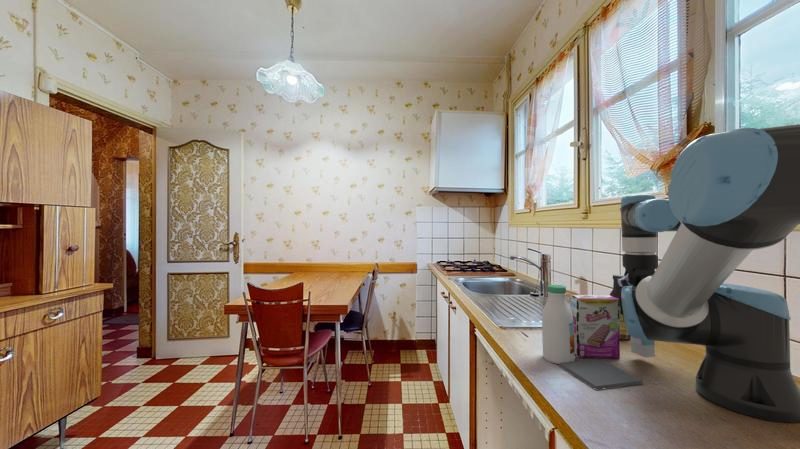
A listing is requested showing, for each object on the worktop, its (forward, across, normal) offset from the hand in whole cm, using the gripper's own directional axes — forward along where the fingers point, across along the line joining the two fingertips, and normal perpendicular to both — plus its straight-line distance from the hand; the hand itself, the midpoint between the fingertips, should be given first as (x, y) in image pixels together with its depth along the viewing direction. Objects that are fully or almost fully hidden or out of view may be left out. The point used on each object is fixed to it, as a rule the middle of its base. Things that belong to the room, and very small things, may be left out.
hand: (642, 342), depth 83 cm
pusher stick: (+3, 0, 0) cm, 3 cm away
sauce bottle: (+5, -9, -16) cm, 19 cm away
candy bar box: (+5, +9, -6) cm, 12 cm away
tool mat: (+5, +17, +4) cm, 18 cm away
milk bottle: (+5, +20, -6) cm, 22 cm away
